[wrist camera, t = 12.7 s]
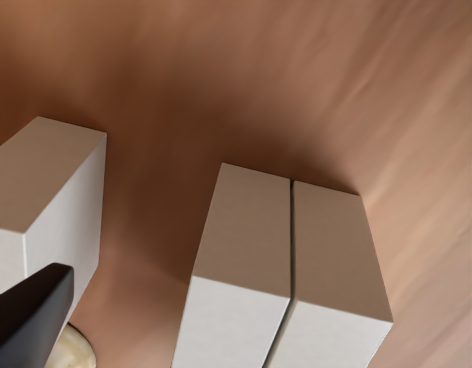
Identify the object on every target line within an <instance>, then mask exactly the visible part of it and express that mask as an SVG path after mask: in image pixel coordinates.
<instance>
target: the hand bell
mask: <svg viewBox="0 0 472 368" xmlns="http://www.w3.org/2000/svg"><path fill="white" fill-rule="evenodd" d="M44 368H96V358H95V354H94V352H93V350H92V348H91V346H90V344H89V343H88V342H87V340H86V339H85V338H84V337H83V336H82V335H81V334H80V333H79V332H78V331H76V330H75V329H74V328H73V327H71V326H69V325H68V324H66V325H65V327H64V329H63V331H62V333H61V335H60V337H59V338H58V340H57V342H56V344H55V346H54V348H53V349H52V351H51V353H50V355H49V358H48V360H47V362H46V365H45V367H44Z"/></svg>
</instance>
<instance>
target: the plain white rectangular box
mask: <svg viewBox="0 0 472 368" xmlns="http://www.w3.org/2000/svg"><path fill="white" fill-rule="evenodd" d="M106 143H107V133H105V132H101V131H97V130H93V129H89V128H85V127H81V126H77V125H72V124H68V123H64V122H60V121H56V120H52V119H48V118H44V117H40V116H37V117H36V118H35V119H33V120H32V121H31V122H30V123H28V124H27V125H26V126H25V127H23V128H22V129H21V130H20V131H18V132H17V133H16V134H15V135H14V136H12V137H11V138H10V139H9V140H7V141H6V142H5V143H4V144H2V145H1V146H0V294H1V293H3V292H5V291H6V290H8V289H10V288H11V287H13V286H15V285H16V284H18V283H19V282H21V281H23V280H24V279H26V278H28V277H29V276H31V275H32V274H34V273H36V272H37V271H39V270H41V269H42V268H44V267H45V266H47V265H49V264H51V263H54V262H57V263H62V264H66V265H70V266H72V267H73V268H74V298H73V302H72V305H71V307H70V310H69V312H68V314H67V316H66V319H65V321H64V323H63V326H62V328H61V330H60V333H59V335H58V337H57V339H56V342H57V340H58V338H59V337H60V335H61V333H62V331H63V329H64V327H65V325H66V324H67V322H68V320H69V318H70V316H71V314H72V313H73V311H74V309H75V307H76V305H77V303H78V301H79V300H80V298H81V296H82V294H83V292H84V290H85V289H86V287H87V285H88V283H89V281H90V279H91V277H92V276H93V274H94V272H95V270H96V268H97V266H98V263H99V248H100V233H101V218H102V203H103V188H104V173H105V158H106ZM56 342H55V344H56ZM55 344H54V346H55ZM54 346H53V348H54Z"/></svg>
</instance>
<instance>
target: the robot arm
mask: <svg viewBox="0 0 472 368" xmlns="http://www.w3.org/2000/svg"><path fill="white" fill-rule="evenodd" d="M73 298H74V268H73V267H72V266H70V265H66V264H62V263H57V262H54V263H51V264H49V265H47V266H45V267H44V268H42V269H41V270H39V271H37V272H36V273H34V274H32V275H31V276H29V277H28V278H26V279H24V280H23V281H21V282H19V283H18V284H16V285H15V286H13V287H11V288H10V289H8V290H6V291H5V292H3V293H1V294H0V368H44V367H45V365H46V362H47V360H48V358H49V355H50V353H51V351H52V349H53V346H54V344H55V342H56V339H57V337H58V335H59V333H60V330H61V328H62V326H63V323H64V321H65V319H66V316H67V314H68V312H69V310H70V307H71V305H72V302H73Z"/></svg>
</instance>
